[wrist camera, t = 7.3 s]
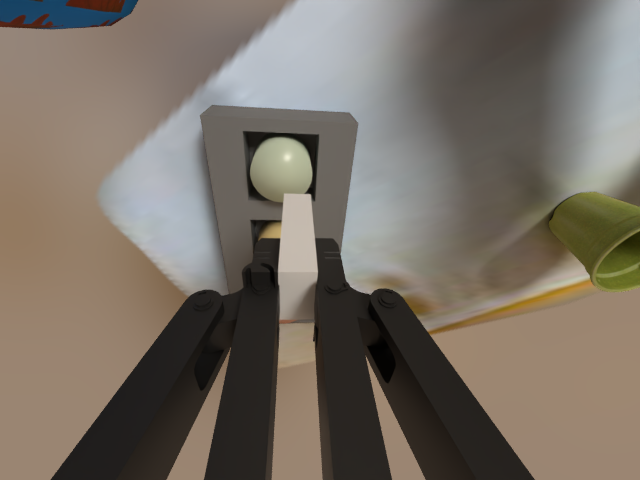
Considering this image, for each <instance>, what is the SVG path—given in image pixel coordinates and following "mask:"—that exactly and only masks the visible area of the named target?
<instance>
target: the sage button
mask: <svg viewBox="0 0 640 480" xmlns="http://www.w3.org/2000/svg"><path fill="white" fill-rule="evenodd" d="M250 176H251V180H252V183H253V185H254V187H255V189H256V190H257V191H258V192H259V193H260V194H261V195H262V196H264V197H265V198H267V199H269V200H271V201H275V202H283V201H284V193H285V194H304V193H305V192H306V191H307V190H308V188H309V186H310V184H311V181H312V167H311V161H310V155H309V151H308V148H307V146H306V144H305V142H304V141H303V140H302V139H301V138H300V137H299V136H298V135H296V134H294V133H276V132H270V133H268V134H267V135H265V136H264V137H263V138H262V139H261V140H260V142H259V143H258V145H257V148H256V151H255V154H254V157H253V160H252V163H251V168H250Z"/></svg>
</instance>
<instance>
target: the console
mask: <svg viewBox="0 0 640 480" xmlns="http://www.w3.org/2000/svg"><path fill="white" fill-rule="evenodd" d="M200 118H201V124H202V130H203V136H204V142H205V148H206V154H207V161H208V167H209V173H210V179H211V185H212V191H213V197H214V203H215V210H216V216H217V222H218V228H219V234H220V240H221V246H222V253H223V259H224V265H225V271H226V277H227V283H228V289H229V294H232V293H235V292H237V291H239V290H241V289H242V288H243V280H242V270H243V268H244V267H245V266H247V265H248V264H250V263H252V260H253V255H254V249H255V244H256V243H257V242H258V237H259V232H260V229H261V227H262V226H263V225H264V224H265V223H266V222H267V221H268V220H282V213H283V202H275V201H271V200H269V199H267V198H265V197H264V196H262V195H261V194H260V193H259V192H258V191H257V190H256V189H255V187H254V185H253V183H252V180H251V176H250V168H251V163H252V160H253V157H254V154H255V151H256V148H257V145H258V143H259V142H260V140H261V139H262V138H263V137H264V136H265V135H267V134H268V133H270V132H276V133H294V134H296V135H298V136H299V137H300V138H301V139H302V140H303V141H304V142H305V144H306V146H307V148H308V151H309V155H310V161H311V167H312V181H311V184H310V186H309V188H308V190H307V191H306V192H305V193H304V194H311V203H312V213H313V224H314V235H315V238H333V239H334V240H335V241H336V242H337V244H338V245H339V250H340V253H341V246H342V238H343V231H344V223H345V216H346V209H347V201H348V194H349V187H350V179H351V172H352V165H353V157H354V150H355V142H356V135H357V128H358V122H357V121H356V120H355V119H354V118H353V116H352V115H351V114H350V113H345V112H327V111H309V110H291V109H273V108H255V107H236V106H218V105H212V106H211V107H209V108H208V109H207V110H206V111H204V112H203V113H202V114H201V115H200ZM290 323H315V318H314V319H303V320H296V321H293V322H290Z"/></svg>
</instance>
